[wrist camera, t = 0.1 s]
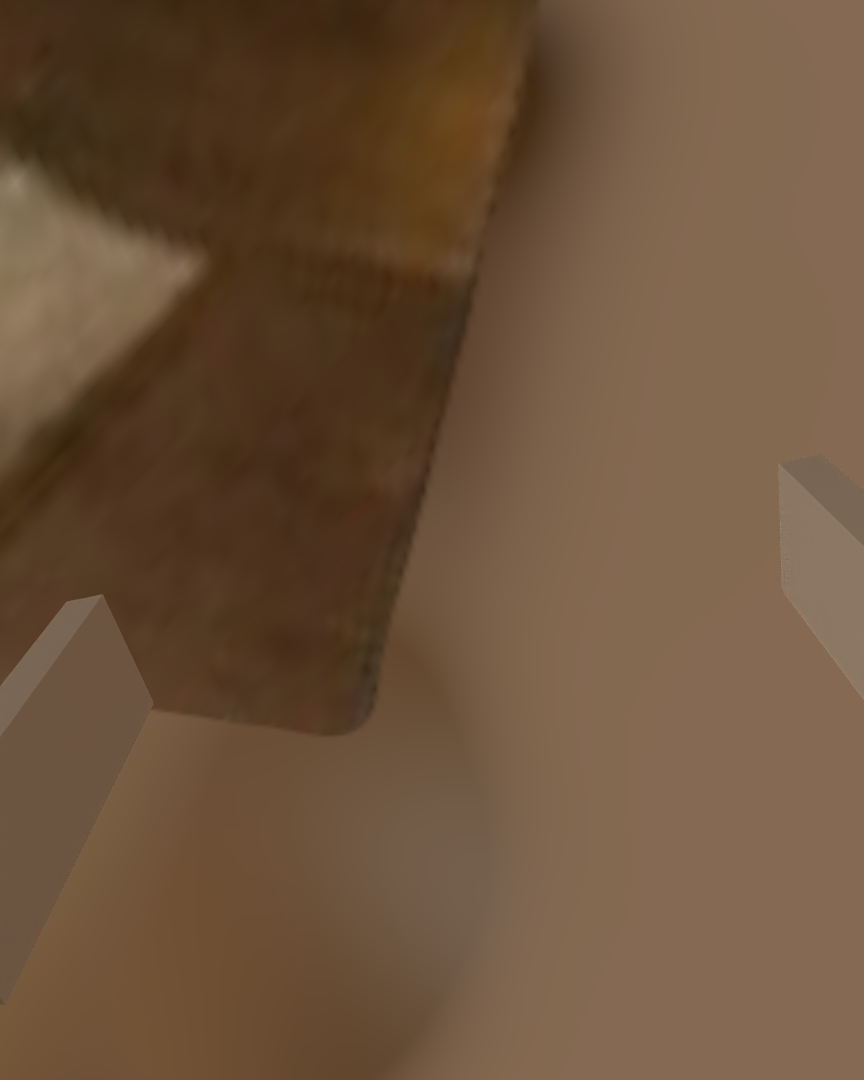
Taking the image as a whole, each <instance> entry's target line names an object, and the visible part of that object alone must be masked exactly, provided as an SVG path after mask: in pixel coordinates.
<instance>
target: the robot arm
mask: <svg viewBox="0 0 864 1080" xmlns="http://www.w3.org/2000/svg"><path fill="white" fill-rule="evenodd" d="M778 464H779V466H778V467H779V504H780V539H781V540H780V541H781V576H782V591H783V593H784V594H785V596H786V597H787V598H788V600H789V601H790V602H791V604H792V605H793V606H794V608H795V609H796V610H797V612H798V613H799V614H800V616H801V617H802V618H803V620H804V621H805V622H806V624H807V625H808V626H809V628H810V629H811V630H812V632H813V633H814V634H815V636H816V637H817V638H818V640H819V641H820V642H821V644H822V645H823V646H824V648H825V649H826V650H827V652H828V653H829V654H830V656H831V657H832V658H833V660H834V661H835V662H836V664H837V665H838V667H839V668H840V669H841V671H842V672H843V673H844V675H845V676H846V677H847V679H848V680H849V681H850V683H851V684H852V685H853V687H854V688H855V689H856V690H857V692H858V693H859V695H860V696H861V697H862V699H863V700H864V490H863V489H862V488H861V487H860V486H859V485H857V484H856V483H855V482H854V481H852V480H851V479H850V478H849V477H848V476H847V475H845V474H844V473H843V472H842V471H841V470H840V469H838V468H837V467H836V466H835V465H834V464H832V463H831V462H830V461H829V460H828V459H826V458H825V457H824V456H823V455H822V454H821V455H816V456H811V457H806V458H800V459H795V460H790V461H785V462H780V463H778ZM153 704H154V702H153V700H152V698H151V696H150V694H149V692H148V690H147V688H146V685H145V683H144V681H143V679H142V677H141V675H140V673H139V671H138V668H137V666H136V664H135V662H134V660H133V658H132V656H131V654H130V651H129V649H128V647H127V645H126V643H125V641H124V639H123V637H122V634H121V632H120V630H119V628H118V626H117V624H116V622H115V620H114V618H113V615H112V613H111V611H110V609H109V607H108V605H107V603H106V601H105V598H104V596H103V595H98V596H93V597H88V598H83V599H77V600H72V601H67V602H66V603H65V604H64V606H63V607H62V608H61V610H60V611H59V612H58V613H57V615H56V616H55V617H54V618H53V620H52V621H51V622H50V624H49V625H48V626H47V627H46V629H45V630H44V631H43V633H42V634H41V635H40V636H39V638H38V639H37V640H36V641H35V643H34V644H33V645H32V647H31V648H30V649H29V650H28V652H27V653H26V654H25V655H24V657H23V658H22V659H21V661H20V662H19V663H18V664H17V666H16V667H15V668H14V669H13V671H12V672H11V673H10V675H9V676H8V677H7V678H6V680H5V681H4V682H3V683H2V685H1V686H0V1005H3V1004H6V1002H7V999H8V998H9V995H10V993H11V991H12V989H13V987H14V985H15V983H16V981H17V979H18V977H19V975H20V973H21V971H22V969H23V967H24V965H25V963H26V961H27V959H28V957H29V955H30V953H31V951H32V949H33V947H34V944H35V943H36V941H37V939H38V937H39V935H40V932H41V931H42V928H43V927H44V924H45V922H46V921H47V919H48V917H49V915H50V912H51V910H52V908H53V906H54V904H55V902H56V900H57V898H58V896H59V894H60V892H61V890H62V888H63V886H64V884H65V882H66V880H67V878H68V876H69V874H70V872H71V870H72V868H73V866H74V864H75V862H76V860H77V858H78V856H79V854H80V852H81V850H82V848H83V846H84V844H85V842H86V840H87V837H88V835H89V834H90V831H91V829H92V827H93V825H94V823H95V821H96V819H97V817H98V815H99V813H100V811H101V809H102V807H103V805H104V803H105V801H106V799H107V797H108V795H109V793H110V791H111V789H112V787H113V785H114V783H115V781H116V779H117V777H118V774H119V773H120V771H121V769H122V767H123V765H124V763H125V761H126V759H127V757H128V755H129V753H130V751H131V748H132V746H133V744H134V742H135V740H136V738H137V736H138V734H139V732H140V730H141V728H142V726H143V724H144V722H145V720H146V718H147V716H148V714H149V712H150V710H151V708H152V706H153Z"/></svg>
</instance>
